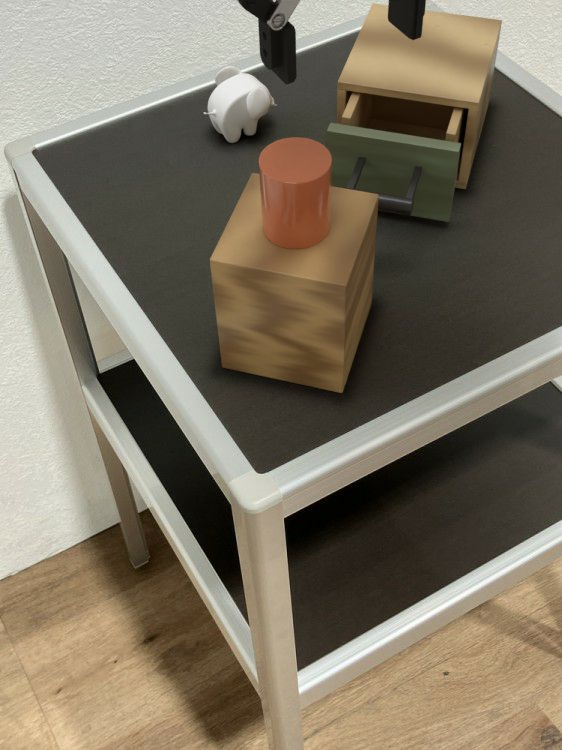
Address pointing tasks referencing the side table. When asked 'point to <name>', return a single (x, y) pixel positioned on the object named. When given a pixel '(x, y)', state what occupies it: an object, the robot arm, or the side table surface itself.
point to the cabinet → (427, 68)
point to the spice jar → (295, 192)
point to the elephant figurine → (237, 103)
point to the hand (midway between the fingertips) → (343, 51)
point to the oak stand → (295, 292)
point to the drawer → (399, 153)
